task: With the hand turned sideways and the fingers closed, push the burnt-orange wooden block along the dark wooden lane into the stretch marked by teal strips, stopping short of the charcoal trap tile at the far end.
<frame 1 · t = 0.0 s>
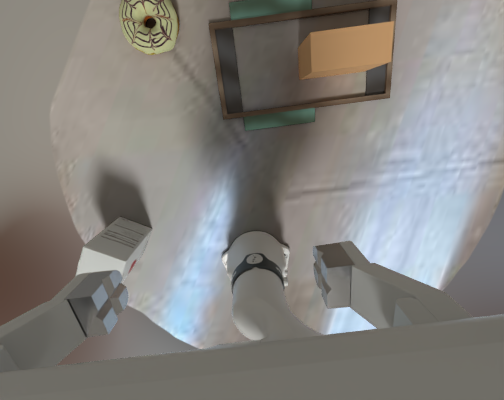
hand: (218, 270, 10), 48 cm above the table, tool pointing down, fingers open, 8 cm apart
trap lane: (303, 63, 50), on the table
supplement box: (132, 235, 63), on the table
decorated donut: (154, 27, 47), on the table
orange block: (331, 59, 50), resting in trap lane
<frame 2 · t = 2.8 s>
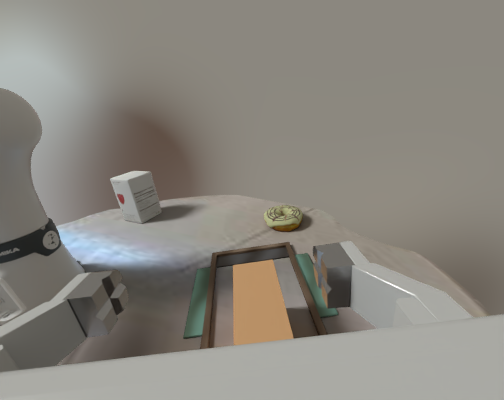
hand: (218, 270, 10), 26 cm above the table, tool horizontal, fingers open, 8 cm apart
trap lane: (260, 315, 38), on the table
supplement box: (144, 217, 81), on the table
decorated donut: (283, 224, 66), on the table
orange block: (265, 352, 33), resting in trap lane
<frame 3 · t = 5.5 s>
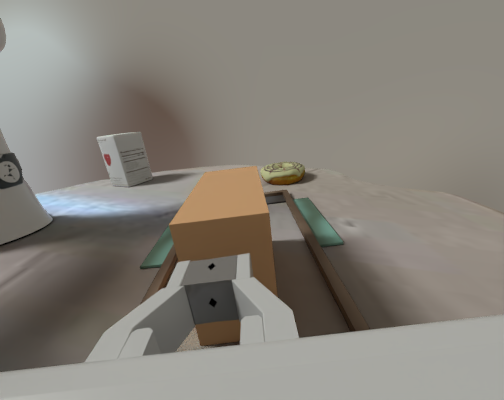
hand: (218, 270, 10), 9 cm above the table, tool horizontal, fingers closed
trap lane: (241, 247, 30), on the table
supplement box: (133, 183, 75), on the table
decorated donut: (283, 180, 57), on the table
orange block: (241, 279, 24), resting in trap lane
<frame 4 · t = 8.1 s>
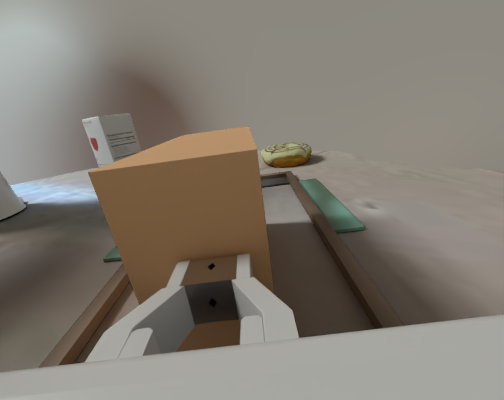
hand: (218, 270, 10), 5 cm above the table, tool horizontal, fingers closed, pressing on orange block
trap lane: (233, 235, 23), on the table
supplement box: (123, 170, 69), on the table
decorated donut: (286, 163, 51), on the table
orange block: (229, 269, 18), resting in trap lane, touching gripper
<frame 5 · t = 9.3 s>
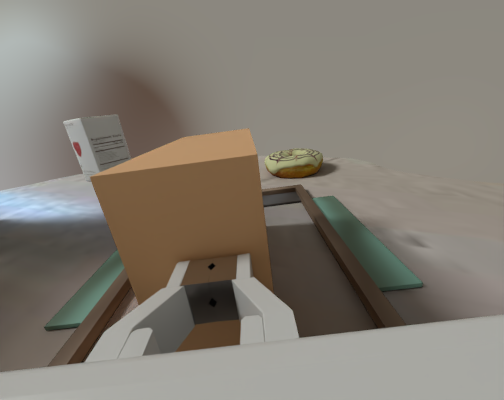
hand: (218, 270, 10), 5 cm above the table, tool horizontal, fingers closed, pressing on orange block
trap lane: (232, 286, 17), on the table
supplement box: (111, 177, 62), on the table
decorated donut: (294, 173, 44), on the table
orange block: (229, 271, 18), resting in trap lane, touching gripper
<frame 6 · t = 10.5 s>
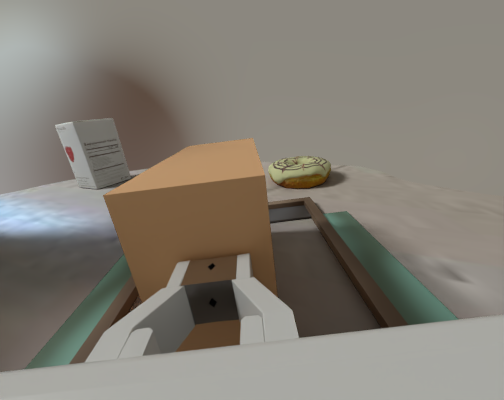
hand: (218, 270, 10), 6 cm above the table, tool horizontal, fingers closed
trap lane: (239, 332, 14), on the table
supplement box: (106, 184, 59), on the table
decorated donut: (299, 182, 42), on the table
orange block: (233, 280, 19), resting in trap lane
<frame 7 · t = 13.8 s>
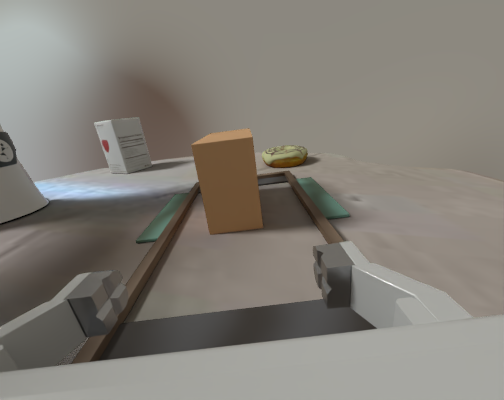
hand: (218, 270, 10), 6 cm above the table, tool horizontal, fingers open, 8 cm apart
trap lane: (242, 222, 28), on the table
supplement box: (132, 170, 73), on the table
decorated donut: (285, 164, 56), on the table
orange block: (238, 208, 33), resting in trap lane
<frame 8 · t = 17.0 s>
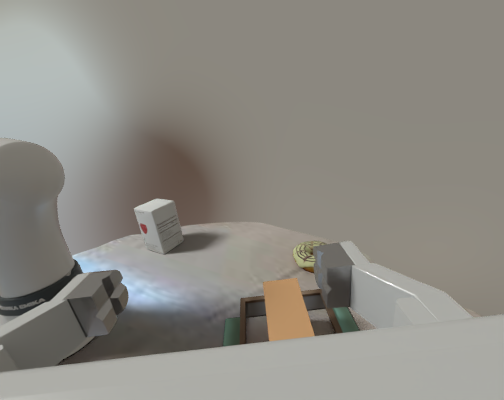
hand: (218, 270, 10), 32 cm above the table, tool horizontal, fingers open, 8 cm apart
trap lane: (301, 390, 34), on the table
supplement box: (165, 245, 79), on the table
decorated donut: (314, 262, 61), on the table
orange block: (290, 358, 38), resting in trap lane
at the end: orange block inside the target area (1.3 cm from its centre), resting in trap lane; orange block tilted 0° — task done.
